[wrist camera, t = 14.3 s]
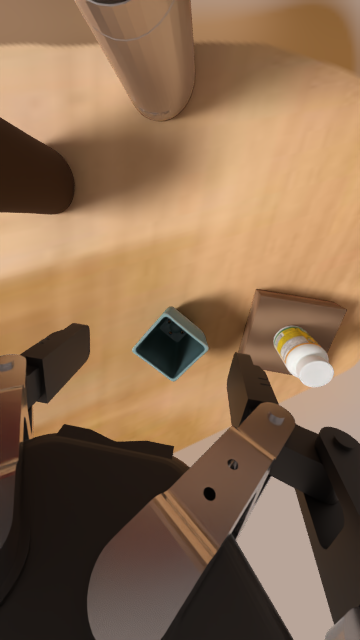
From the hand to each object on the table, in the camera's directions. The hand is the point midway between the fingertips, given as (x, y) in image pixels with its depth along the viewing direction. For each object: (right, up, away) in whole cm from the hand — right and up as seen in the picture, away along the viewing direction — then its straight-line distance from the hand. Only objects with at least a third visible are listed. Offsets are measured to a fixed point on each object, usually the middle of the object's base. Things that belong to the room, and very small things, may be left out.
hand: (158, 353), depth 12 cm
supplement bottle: (+19, -1, +25) cm, 31 cm away
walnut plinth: (+20, 0, +28) cm, 34 cm away
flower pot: (+1, +1, +30) cm, 30 cm away
